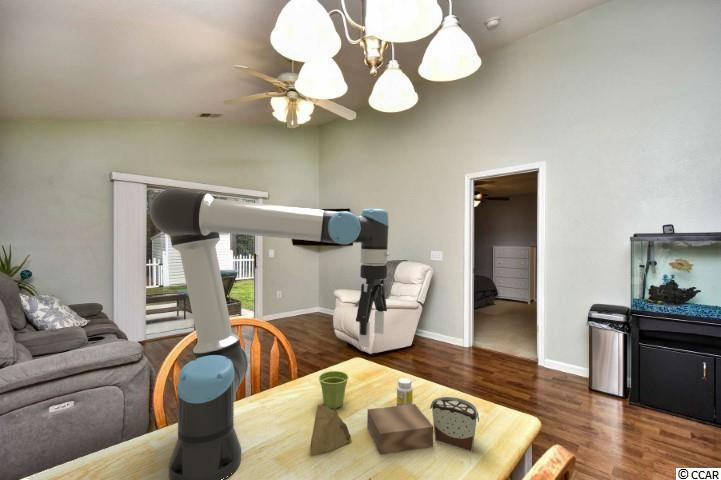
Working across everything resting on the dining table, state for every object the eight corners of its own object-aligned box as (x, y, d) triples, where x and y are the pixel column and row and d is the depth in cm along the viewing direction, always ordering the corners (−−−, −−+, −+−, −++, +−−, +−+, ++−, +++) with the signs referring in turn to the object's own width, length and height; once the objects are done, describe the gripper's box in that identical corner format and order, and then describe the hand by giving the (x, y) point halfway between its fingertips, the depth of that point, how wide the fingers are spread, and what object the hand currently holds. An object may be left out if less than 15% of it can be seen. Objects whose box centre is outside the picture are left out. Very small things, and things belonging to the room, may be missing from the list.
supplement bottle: (412, 404, 109) (412, 377, 108) (412, 412, 104) (413, 384, 104) (396, 403, 109) (396, 377, 109) (396, 411, 104) (397, 383, 104)
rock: (354, 423, 93) (317, 416, 94) (356, 408, 88) (317, 401, 88) (347, 468, 85) (307, 461, 85) (349, 455, 79) (306, 447, 80)
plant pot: (345, 413, 103) (345, 384, 103) (314, 410, 104) (314, 381, 104) (351, 398, 112) (351, 371, 112) (322, 396, 114) (323, 369, 114)
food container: (483, 441, 89) (483, 403, 89) (478, 454, 84) (478, 413, 84) (437, 427, 95) (437, 391, 95) (429, 439, 90) (429, 401, 90)
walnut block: (380, 454, 84) (380, 433, 84) (367, 427, 95) (367, 409, 95) (433, 446, 87) (433, 426, 87) (414, 421, 99) (414, 403, 99)
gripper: (373, 268, 84) (370, 355, 84) (397, 262, 108) (395, 329, 108) (344, 266, 87) (342, 350, 87) (374, 260, 110) (372, 327, 110)
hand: (371, 339), depth 97 cm, fingers open, 13 cm apart
